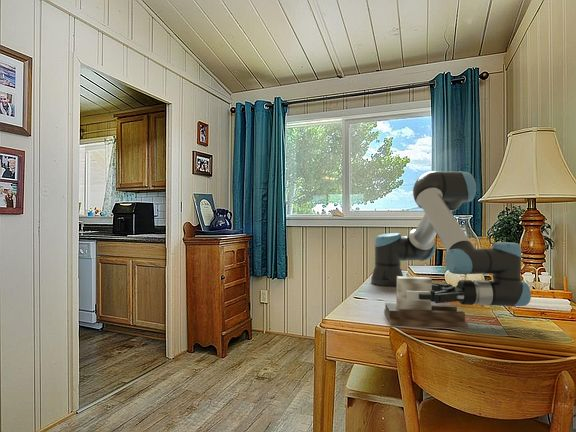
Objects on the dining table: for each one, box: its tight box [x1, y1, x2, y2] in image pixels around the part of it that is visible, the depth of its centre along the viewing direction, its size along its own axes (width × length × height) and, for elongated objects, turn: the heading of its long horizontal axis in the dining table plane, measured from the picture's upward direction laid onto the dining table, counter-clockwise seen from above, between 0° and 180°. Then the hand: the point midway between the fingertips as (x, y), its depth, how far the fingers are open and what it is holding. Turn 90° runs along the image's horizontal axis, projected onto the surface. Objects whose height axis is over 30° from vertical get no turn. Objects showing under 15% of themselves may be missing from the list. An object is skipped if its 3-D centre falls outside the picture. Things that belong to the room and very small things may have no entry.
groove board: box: [383, 302, 469, 329], centre depth 118 cm, size 22×14×4 cm, turn 83°
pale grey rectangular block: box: [395, 275, 433, 310], centre depth 118 cm, size 10×4×12 cm, turn 83°
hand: (402, 290), depth 118 cm, fingers open, 13 cm apart
